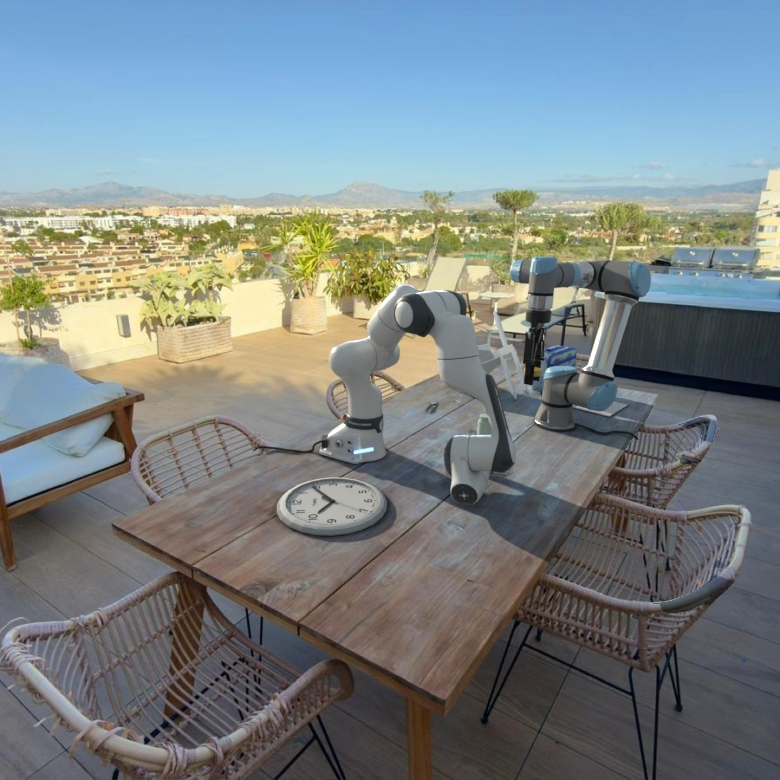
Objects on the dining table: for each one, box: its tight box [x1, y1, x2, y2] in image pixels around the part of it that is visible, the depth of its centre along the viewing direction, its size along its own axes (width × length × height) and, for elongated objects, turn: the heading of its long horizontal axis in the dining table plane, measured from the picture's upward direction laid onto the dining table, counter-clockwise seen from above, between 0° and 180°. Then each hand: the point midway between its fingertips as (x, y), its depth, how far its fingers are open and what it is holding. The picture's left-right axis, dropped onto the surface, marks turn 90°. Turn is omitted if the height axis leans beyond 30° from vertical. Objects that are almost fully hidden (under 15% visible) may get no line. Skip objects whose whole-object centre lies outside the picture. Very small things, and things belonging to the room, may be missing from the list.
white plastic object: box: [443, 310, 531, 400], centre depth 245 cm, size 37×45×31 cm
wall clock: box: [276, 476, 388, 537], centre depth 142 cm, size 30×2×30 cm
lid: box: [523, 367, 541, 377], centre depth 165 cm, size 5×5×2 cm
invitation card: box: [573, 400, 629, 418], centre depth 226 cm, size 21×1×15 cm
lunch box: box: [531, 345, 577, 393], centre depth 245 cm, size 26×11×21 cm, turn 134°
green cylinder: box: [476, 413, 492, 435], centre depth 161 cm, size 4×4×19 cm
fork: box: [425, 396, 439, 412], centre depth 222 cm, size 3×16×2 cm, turn 160°
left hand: (483, 451), depth 163 cm, fingers closed on green cylinder, 4 cm apart
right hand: (531, 382), depth 166 cm, fingers closed on lid, 5 cm apart
